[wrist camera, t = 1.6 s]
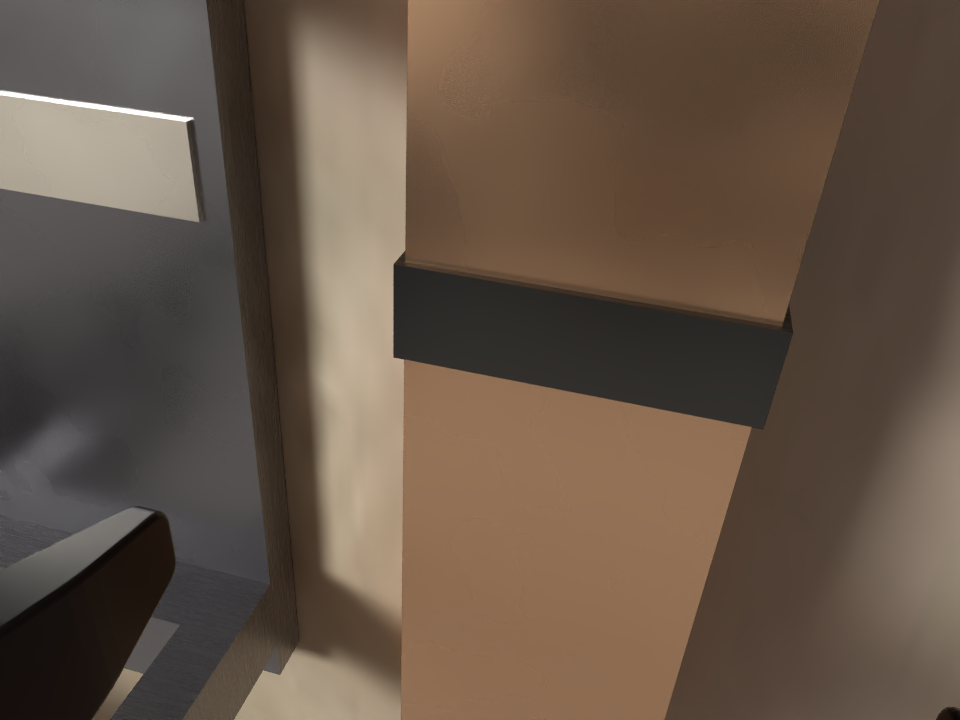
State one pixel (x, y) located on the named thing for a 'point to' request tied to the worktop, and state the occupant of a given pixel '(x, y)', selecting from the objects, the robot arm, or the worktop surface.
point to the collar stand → (144, 326)
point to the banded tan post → (593, 326)
